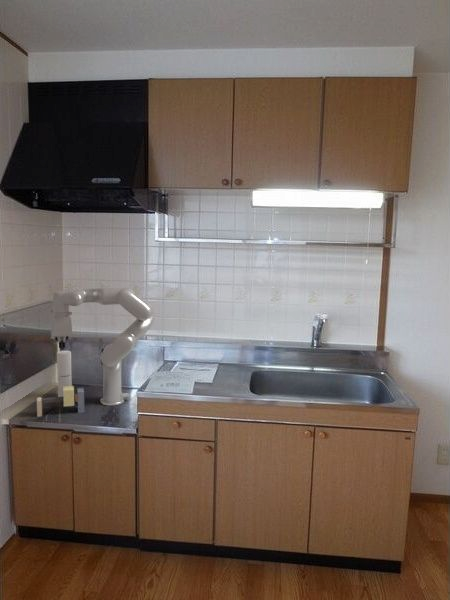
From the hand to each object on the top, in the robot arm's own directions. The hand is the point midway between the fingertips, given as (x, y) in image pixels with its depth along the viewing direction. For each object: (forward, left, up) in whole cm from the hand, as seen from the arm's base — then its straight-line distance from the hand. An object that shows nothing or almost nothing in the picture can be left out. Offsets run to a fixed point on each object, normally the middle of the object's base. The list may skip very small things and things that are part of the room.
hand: (62, 348), depth 233 cm
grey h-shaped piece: (+2, +14, -29) cm, 32 cm away
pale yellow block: (-3, +14, -25) cm, 29 cm away
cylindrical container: (-1, -8, -29) cm, 30 cm away
